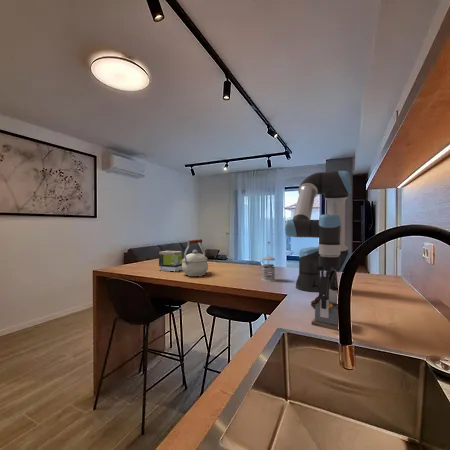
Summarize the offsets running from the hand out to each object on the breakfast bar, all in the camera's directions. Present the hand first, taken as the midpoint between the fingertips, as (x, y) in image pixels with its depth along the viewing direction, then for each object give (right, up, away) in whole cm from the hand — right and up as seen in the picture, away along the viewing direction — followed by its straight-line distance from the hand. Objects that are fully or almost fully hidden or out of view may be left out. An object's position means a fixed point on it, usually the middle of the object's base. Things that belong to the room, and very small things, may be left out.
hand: (328, 311), depth 100 cm
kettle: (-59, -3, +89) cm, 107 cm away
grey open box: (0, -3, 0) cm, 3 cm away
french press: (-12, -3, +72) cm, 73 cm away
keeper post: (0, -3, 0) cm, 3 cm away
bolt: (+6, -4, +21) cm, 22 cm away
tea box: (-81, -2, +103) cm, 131 cm away
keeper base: (0, -4, 0) cm, 4 cm away
